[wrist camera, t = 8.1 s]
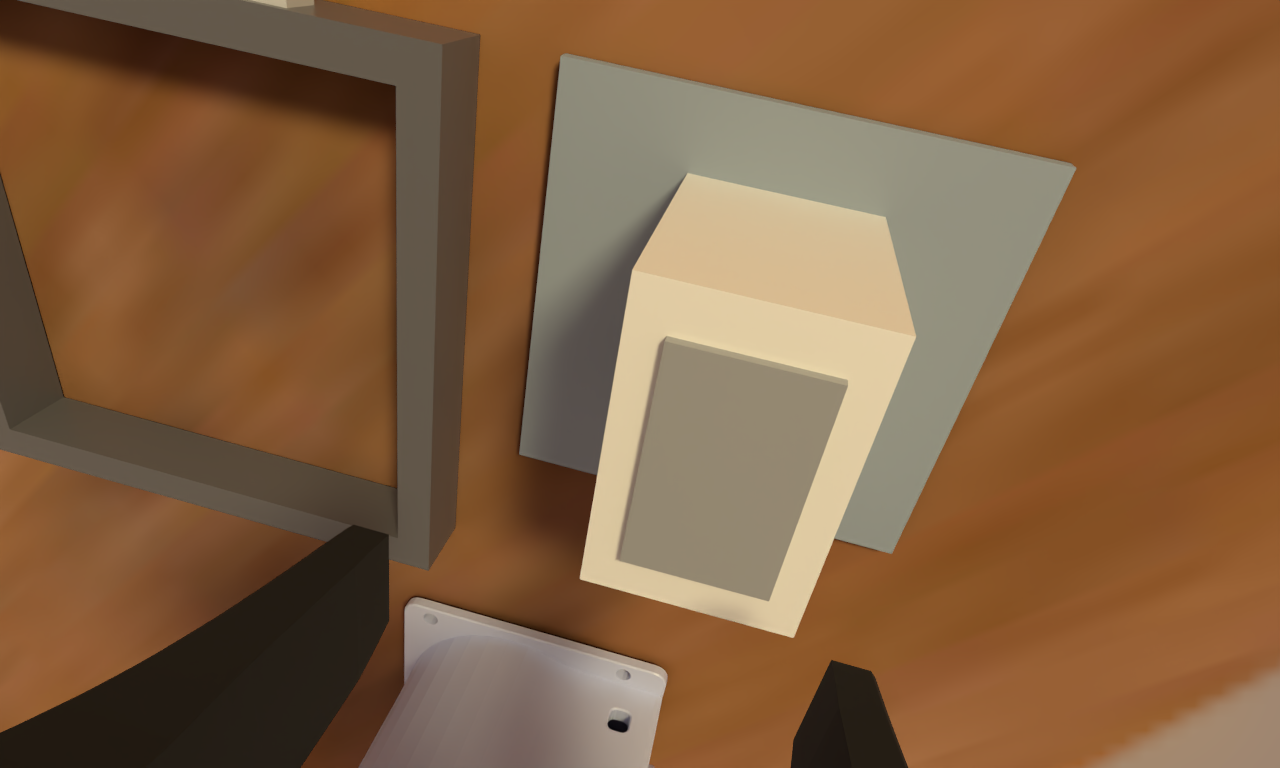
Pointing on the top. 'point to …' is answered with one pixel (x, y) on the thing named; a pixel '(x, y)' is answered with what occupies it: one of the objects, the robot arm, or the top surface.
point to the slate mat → (795, 166)
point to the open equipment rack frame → (426, 293)
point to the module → (744, 400)
